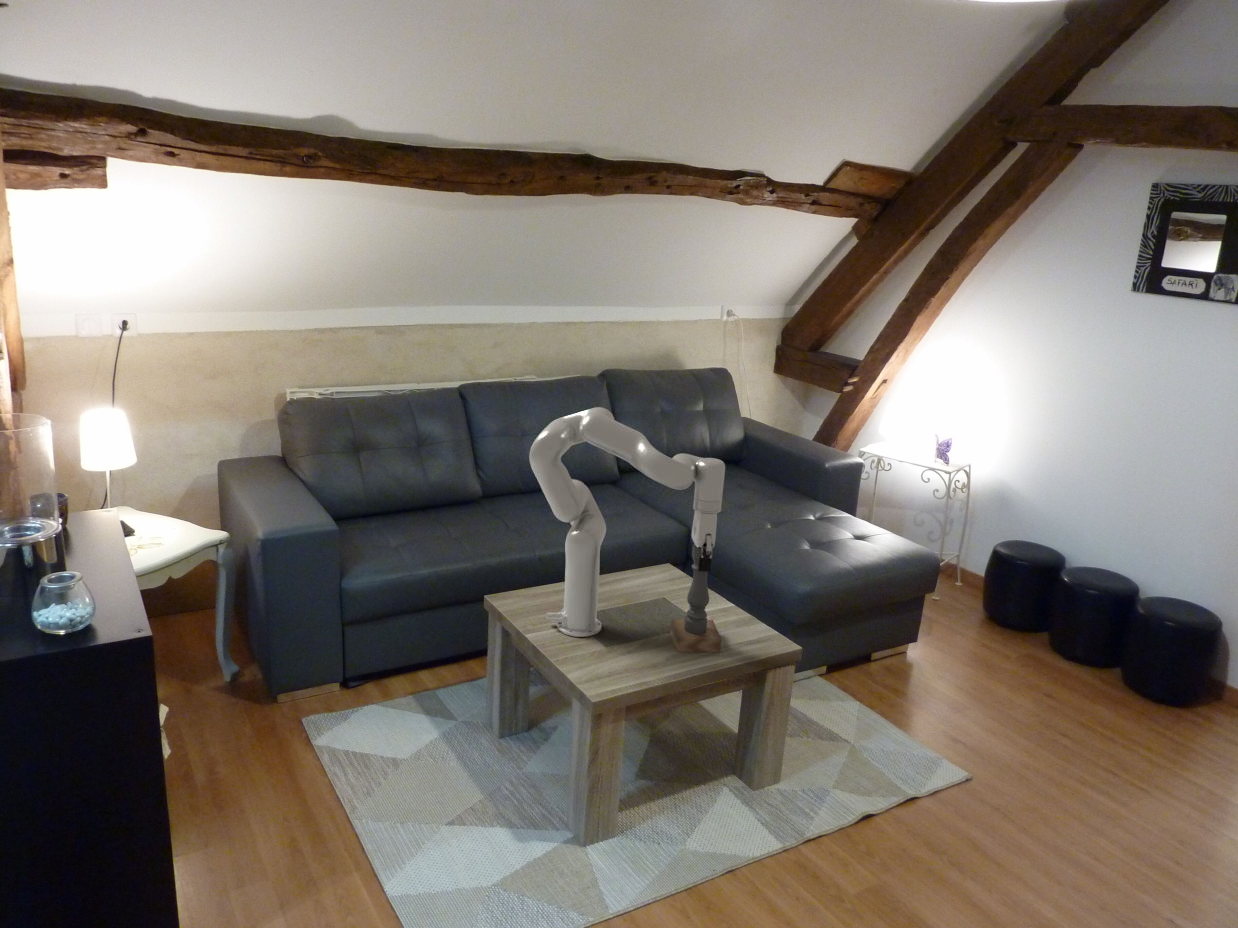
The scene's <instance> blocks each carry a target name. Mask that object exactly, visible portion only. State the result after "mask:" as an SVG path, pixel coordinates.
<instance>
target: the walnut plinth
mask: <svg viewBox="0 0 1238 928" xmlns="http://www.w3.org/2000/svg"><path fill="white" fill-rule="evenodd" d="M670 635H671V638H672V640H673V641H672V642H673V644H674V648H675V650H676V652H678V653H680V652H681V653H682V652H683V653H720V652H721V647H722V646H721V645H722V637H721V636H720V633H719V631H718V628H717V626H716V624H715V621H714V620H713V619H707V629H706V632H705V633H703V634H691V633H688V632H686V631H685V619H683V618H681V619H680V618H678V619H675V618H674V619H673V618H672V619H671V622H670Z"/></svg>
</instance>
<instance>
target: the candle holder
mask: <svg viewBox="0 0 1238 928" xmlns="http://www.w3.org/2000/svg"><path fill="white" fill-rule="evenodd" d="M703 546H706V544H703ZM691 550H692V551H691V557H692V560H693V563H692V565H691V569H692V571H693V576H692V582H691V584H690V588H689V590H688V593H687V596H686V597H687V598H686V601H687V603H688V605H689V609H688V610H687V611H686V616H685V619H684V620H685V631H686V632H688V633H691V634H703V633H705V632H706V629H707V620H708V617H707V616H708V613H707V612H706V610H705V609H706V607H707V606H708V604H709V603H710V594H709V588H708V573H709V572H703V571H699V570H698V566H699V557H701V547H699V548H697V547H696V545H695V543H694V542H693V543H692V549H691ZM704 551H706V549H703V553H704ZM711 552H712V553H711V560H712V559H713V554H714V547H713V548H712V551H711ZM711 567H712V566H711ZM711 567H710V569H711Z"/></svg>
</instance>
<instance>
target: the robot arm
mask: <svg viewBox="0 0 1238 928" xmlns="http://www.w3.org/2000/svg"><path fill="white" fill-rule="evenodd" d="M584 442H585V443H586V442H587V444H590V445H591V446H594V447H596V448H598V449H600V450H603V451H605V452H607V453H609V454H612V455H614V456H616V457H618V458H620V459H622V460H623V461H626V462H627V463H629V464H630V465H631V466H632V467H633V468H635V469H636V470H638V471H639V472H641V473H642V474H644V475H645V476H646V477H648V478H650V479H652V480H653V481H654V482H657V483H660V484H661V485H664V486H666V487H668V488H670V489H674V490H678V491H682V490H685V489H688V488H689V487H690V486H691V485H692V484H693V482H694V495H693V505H692V508H693V510H694V515H693V521H692V526H691V527H692V528H691V539H692V542H693V544H694V543H695V545H696V547H697V548H699V547H701V557H699V566H698V570H699V571H703V572H708V573H710V571H711V568H710V567H712V566H711V565H712V559H711V553H712V552H711V551H712V548H713V549H714V547H715V545H716V544H715V543H716V536H717V527H718V526H717V523H718V514H719V513H720V512H721V511H722V503H723V492H724V485H725V476H726V475H725V473H726V464H725V462H724V461H723V460H721V459H718V458H714V457H701V456H696V455H694V454H690V453H677V454H675V455H674V456H673V457H669V456H667V455H665V454H664V453H662V452H661V451H659V450H657V449H656V448H655V447H654V446H653V444H651V443H650V442H649V440H648V439H647V438H646V436H645V435H644V434H643V433H642V432H640V431H638V430H636V429H634V428H632V427H630V426H627V425H625V424H624V423H621V422H619V421H617V420H615V417H614V415H613V414H612V412H611V411H610V410H609V409H606V408H605V407H602V406H598V407H592V408H588V409H586V410H583V411H578V412H575V413H572V414H568V415H565V416H562V417H558V418H556V419H555V420H553V421H551V422H550V423H549V424H547V426H546V427H545V428H544V429H543V430H542V431H541V432H540V433H539V434H538V435H537V437H536V438H535V439H534V441H533V443H532V445H531V447H530V450H529V454H528V455H529V456H528V457H529V465H530V467H531V470H532V472H533V474H534V476H535V478H536V479H537V482H538V484H539V486H540V488H541V491H542V493H543V494H544V496H545V498H546V500H547V502H548V505H549V507H550V509H551V511H552V513H553V515H554V516H555V517H556V518H557V519H558V520H559V521H561V522H563V523H570V525H571V527H570V528H569V530H568V532H567V535H566V537H565V538H566V539H565V545H564V549H565V550H564V553H565V570H564V574H565V575H564V594H563V595H564V596H563V608H561V611H558V612H547V613H546V619H547V620H551V623H557V624H556V626H557V629H558V631H560V632H561V633H562V634H564V635H567V636H571V637H576V638H578V637H579V638H580V637H581V638H582V637H583V638H584V637H591V636H594V635H597V634H598V633H600V632H601V630H602V622H601V620H599V619H598V618H597V613H598V602H599V601H598V600H599V584H600V569H601V568H600V566H601V565H600V561H601V560H600V556H601V555H600V554H601V553H600V551H601V545H602V543H603V541H604V539H605V536H606V534H607V533H606V532H607V524H606V521H605V519H604V517H603V514H602V512H601V510H600V508H599V506H598V504H597V502H596V501H595V498H594V497H593V494H592V492H591V491H590V489H589V487H588V486H587V485H586V484H584V482H583V481H581V480H579V479H575V478H572V477H571V475H570V473H569V471H568V469H567V468H566V466H565V464H564V463H563V462H562V456H563V455H564V454H565V453H566V452H567V451H568V450H570V448H571V447H572V446H575V445H578V444H582V443H584ZM703 544H706V546H703ZM703 549H706V551H704V553H703Z"/></svg>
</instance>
